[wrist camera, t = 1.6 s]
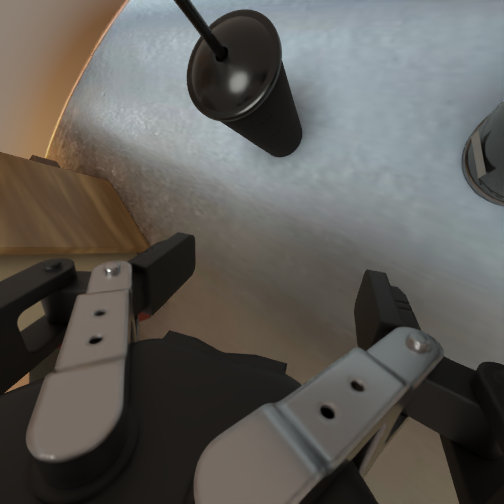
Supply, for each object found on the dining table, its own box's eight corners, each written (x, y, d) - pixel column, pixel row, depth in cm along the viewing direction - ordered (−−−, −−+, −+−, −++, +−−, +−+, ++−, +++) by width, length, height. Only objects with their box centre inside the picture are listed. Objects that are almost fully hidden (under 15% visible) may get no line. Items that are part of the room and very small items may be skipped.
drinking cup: (279, 182, 32) (165, 94, 14) (241, 141, 34) (97, 14, 15) (328, 132, 30) (272, -55, 11) (285, 91, 32) (176, -129, 13)
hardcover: (119, 223, 42) (-85, 203, 23) (167, 301, 39) (-27, 354, 20) (104, 241, 44) (-101, 237, 24) (148, 318, 40) (-50, 383, 21)
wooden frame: (105, 175, 43) (-245, 76, 18) (151, 247, 40) (-206, 246, 15) (75, 215, 47) (-262, 177, 21) (114, 285, 43) (-232, 338, 18)
